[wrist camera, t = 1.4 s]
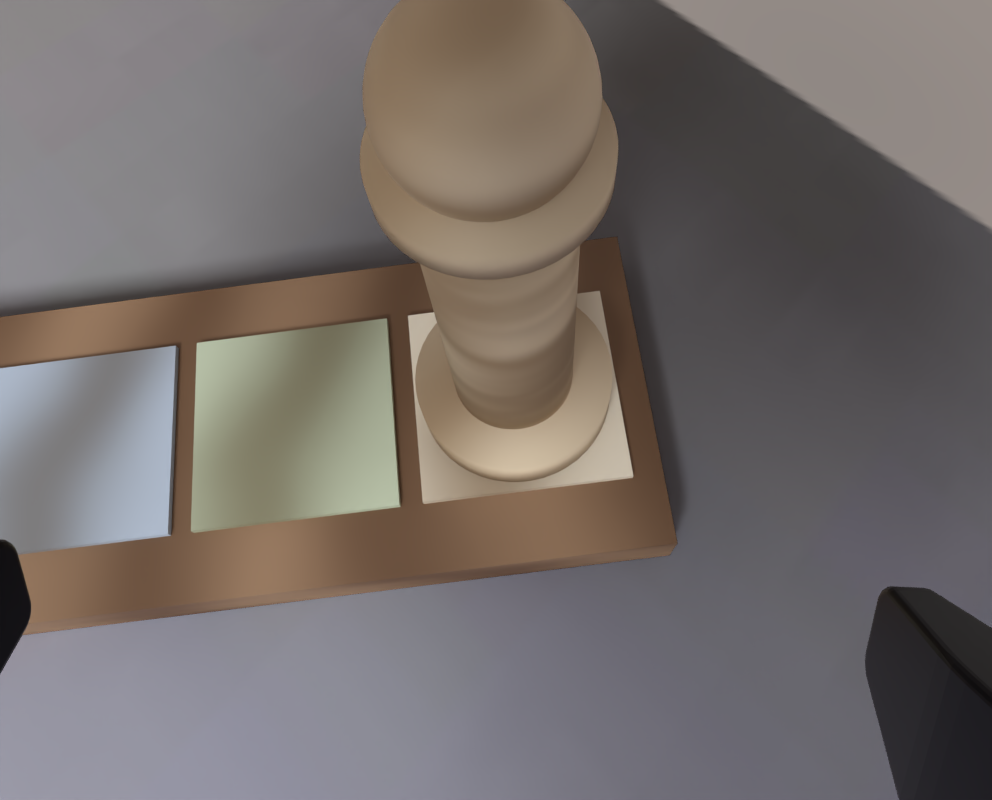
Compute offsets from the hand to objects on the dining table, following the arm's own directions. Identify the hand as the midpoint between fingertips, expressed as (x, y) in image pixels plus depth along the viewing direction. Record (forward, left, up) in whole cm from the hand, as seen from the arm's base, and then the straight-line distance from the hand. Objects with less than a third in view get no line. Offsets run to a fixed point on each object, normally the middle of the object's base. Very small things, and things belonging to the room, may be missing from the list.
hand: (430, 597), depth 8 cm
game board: (+10, 0, -13) cm, 17 cm away
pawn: (+4, -6, -12) cm, 14 cm away
